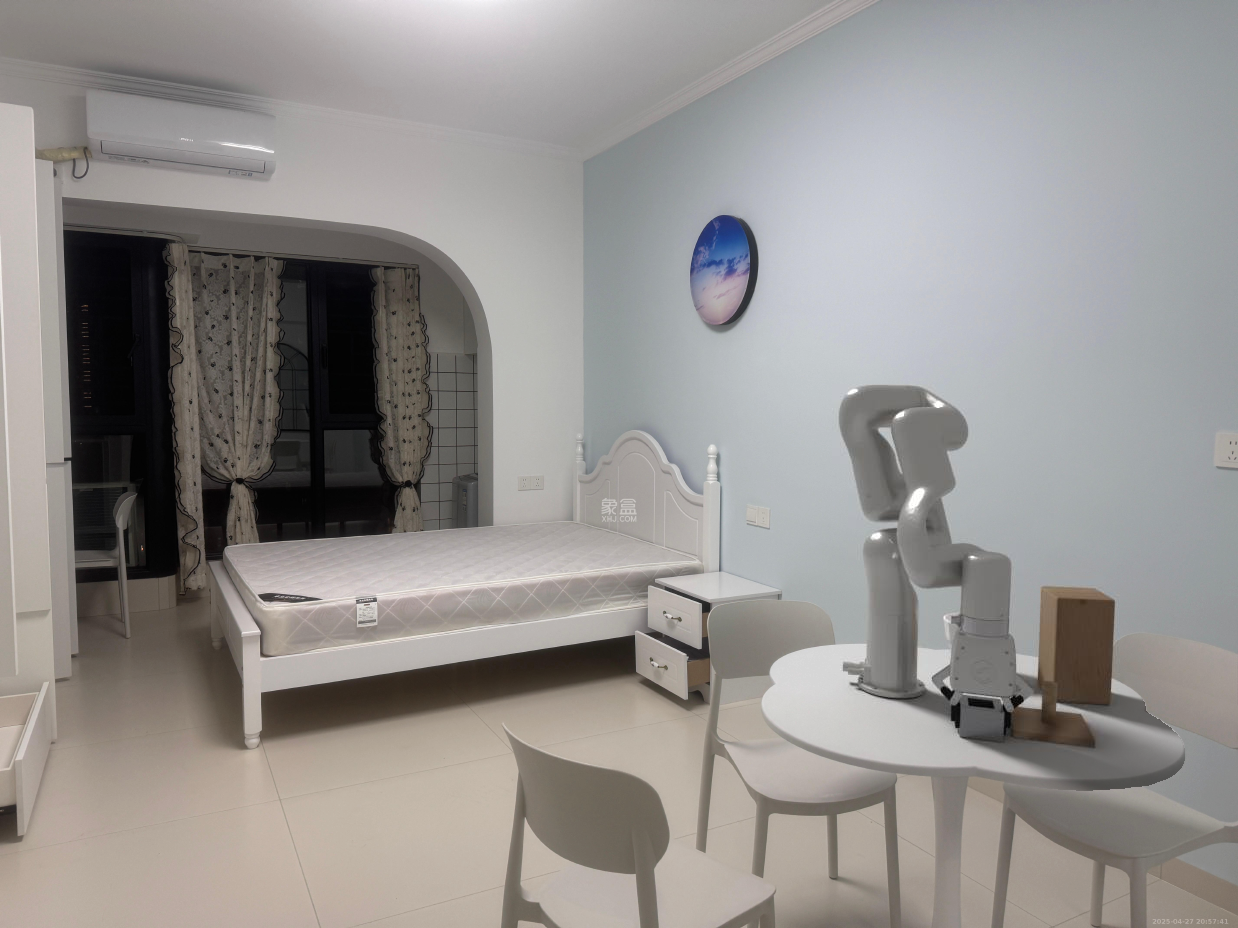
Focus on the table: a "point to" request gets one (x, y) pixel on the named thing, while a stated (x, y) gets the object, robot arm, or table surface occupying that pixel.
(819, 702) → the table surface
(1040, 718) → the post base
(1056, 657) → the wooden block
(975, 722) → the collar
